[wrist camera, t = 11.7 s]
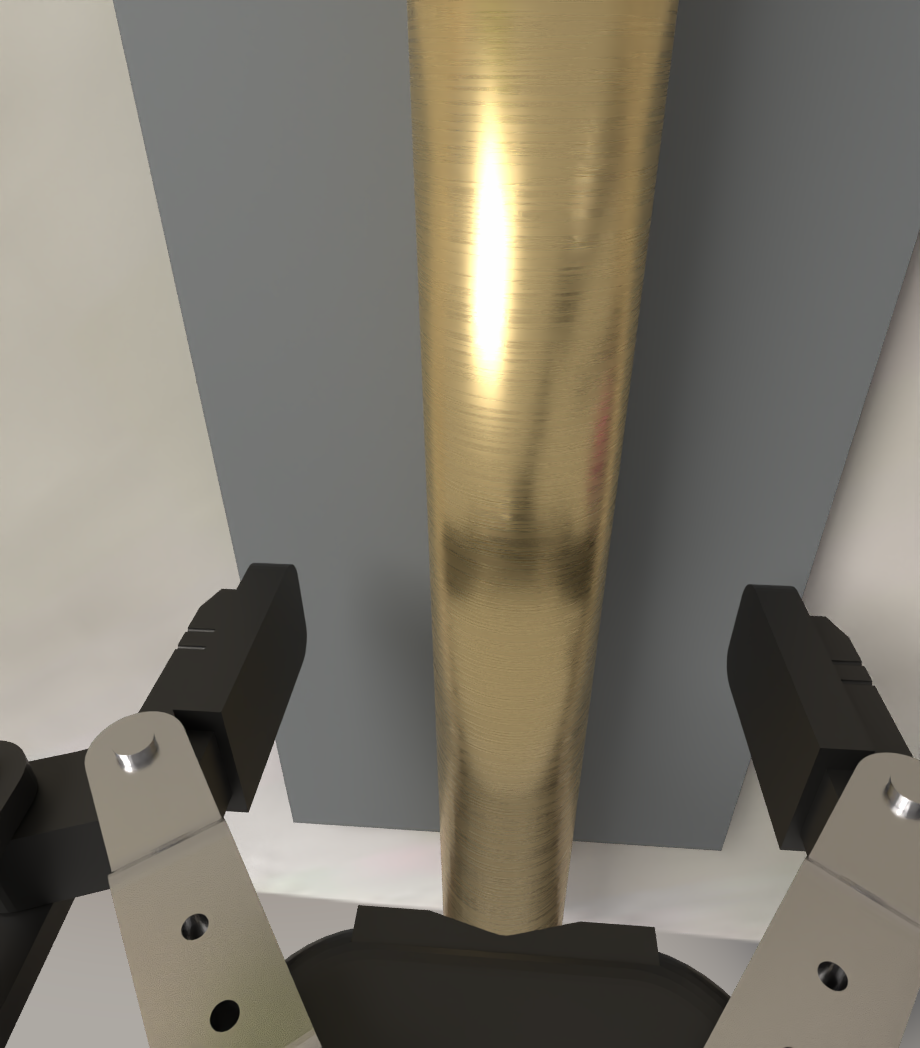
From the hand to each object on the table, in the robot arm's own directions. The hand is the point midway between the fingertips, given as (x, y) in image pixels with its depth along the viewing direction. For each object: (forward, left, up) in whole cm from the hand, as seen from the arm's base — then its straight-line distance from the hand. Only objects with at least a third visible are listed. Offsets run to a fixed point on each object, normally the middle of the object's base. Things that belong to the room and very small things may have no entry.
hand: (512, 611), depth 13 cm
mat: (0, 0, -3) cm, 3 cm away
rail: (0, 0, 0) cm, 1 cm away
